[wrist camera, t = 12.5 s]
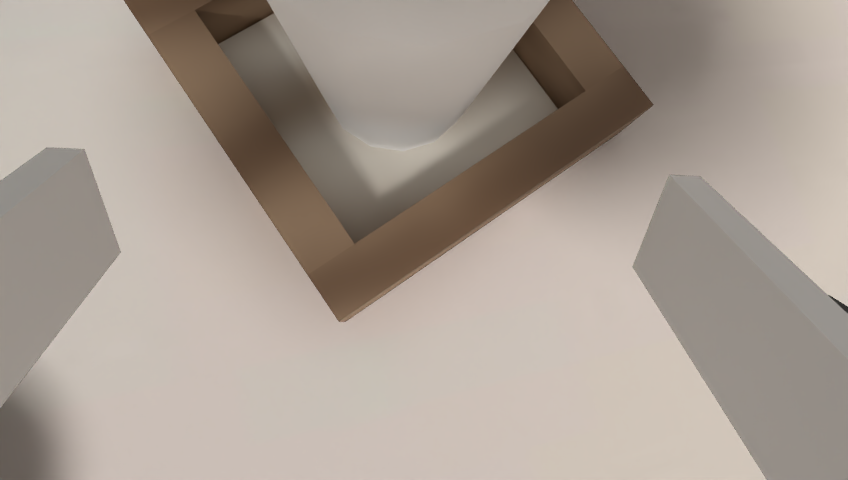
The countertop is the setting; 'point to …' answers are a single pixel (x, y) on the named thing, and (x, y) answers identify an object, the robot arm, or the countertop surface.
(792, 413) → the robot arm
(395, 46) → the foam cup
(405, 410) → the countertop surface
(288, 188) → the square wooden frame
